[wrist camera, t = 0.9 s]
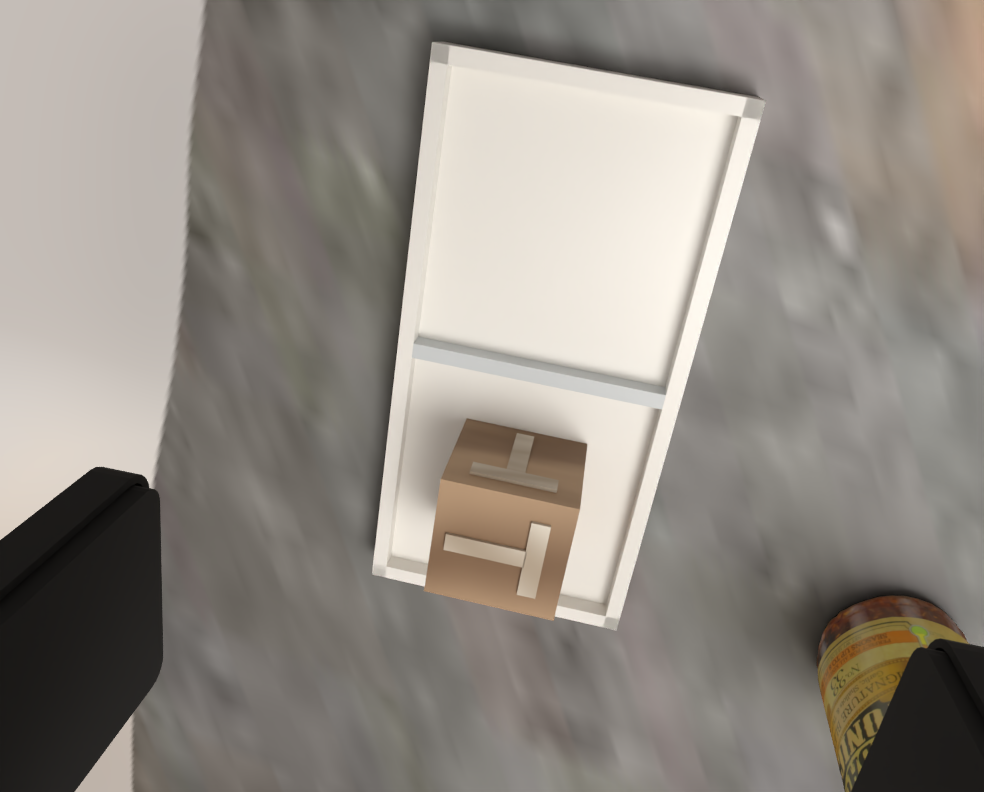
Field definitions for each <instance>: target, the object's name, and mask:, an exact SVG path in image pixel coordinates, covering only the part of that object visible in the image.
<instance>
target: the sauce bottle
mask: <svg viewBox="0 0 984 792" xmlns="http://www.w3.org/2000/svg"><path fill="white" fill-rule="evenodd" d="M940 638H942V639H947V640H952V641H956V642H961V643H966V644H969V643H968V642H967V640H966V638H965V636H964V634H963V632H962V631H961V630H960V629H959V628H958V627H957V625H956V624H955V623H954V622H953V621H952V619H950V618H949V616H948V615H947V614H946V613H945V612H943V611H942V609H940V608H937V607H935V606H934V605H933V604H931V603H928V602H925V601H923V600H920V599H917V598H913V597H909V596H894V595H891V596H883V597H876V598H872V599H869V600H866V601H863V602H859V603H857V604H854V605H852V606H850V607H848V608H847V609H846V610H842V611H840V612H839V614H838V615H837V617H834V618H832V619H831V620H830V621H829V622H828V625H827V627H826V628H825V630H824V632H823V635H822V637H821V641H820V644H819V646H818V656H817V668H818V681H819V687H820V691H821V695H822V699H823V704H824V708H825V712H826V716H827V720H828V724H829V728H830V732H831V736H832V740H833V745H834V748H835V752H836V756H837V761H838V765H839V770H840V773H841V776H842V780H843V785H844V790H845V792H851V790H852V788H853V786H854V783H855V781H856V779H857V777H858V774H859V772H860V770H861V767H862V765H863V763H864V761H865V758H866V756H867V754H868V752H869V749H870V747H871V745H872V742H873V740H874V738H875V736H876V733H877V731H878V729H879V727H880V724H881V722H882V720H883V717H884V715H885V713H886V711H887V708H888V706H889V704H890V702H891V699H892V697H893V695H894V692H895V690H896V688H897V686H898V683H899V681H900V679H901V677H902V674H903V672H904V670H905V667H906V665H907V663H908V661H909V658H910V656H911V655H912V653H913V651H914V650H915V649H917V648H919V647H924V648H928V646H929V644H930V643H931V642H933V641H934V640H935V639H940Z"/></svg>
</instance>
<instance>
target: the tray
mask: <svg viewBox="0 0 984 792" xmlns="http://www.w3.org/2000/svg"><path fill="white" fill-rule="evenodd" d="M765 102H766V101H765V100H763V99H762V98H760V97H756V96H750V95H745V94H739V93H733V92H728V91H722V90H716V89H711V88H705V87H699V86H694V85H688V84H682V83H676V82H671V81H665V80H659V79H654V78H648V77H642V76H637V75H631V74H625V73H620V72H614V71H608V70H602V69H597V68H591V67H585V66H580V65H574V64H568V63H563V62H557V61H551V60H546V59H540V58H534V57H529V56H523V55H517V54H511V53H506V52H500V51H494V50H489V49H483V48H477V47H472V46H466V45H460V44H455V43H449V42H443V41H440V42H432V47H431V56H430V65H429V74H428V83H427V92H426V100H425V109H424V118H423V127H422V136H421V145H420V154H419V162H418V171H417V180H416V189H415V198H414V207H413V216H412V225H411V233H410V242H409V251H408V260H407V269H406V278H405V287H404V295H403V304H402V313H401V322H400V331H399V340H398V349H397V357H396V366H395V375H394V384H393V393H392V402H391V411H390V419H389V428H388V437H387V446H386V455H385V464H384V473H383V482H382V490H381V499H380V508H379V517H378V526H377V535H376V544H375V552H374V561H373V570H372V574H373V575H377V576H382V577H386V578H390V579H395V580H399V581H403V582H408V583H412V584H416V585H421V586H425V581H426V574H427V568H428V561H429V554H430V547H431V541H432V534H433V527H434V521H435V514H436V507H437V500H438V494H439V487H440V480H441V477H442V475H443V472H444V470H445V468H446V465H447V463H448V461H449V458H450V456H451V454H452V451H453V449H454V447H455V444H456V442H457V440H458V437H459V435H460V433H461V430H462V428H463V426H464V423H465V421H466V419H467V418H468V419H473V420H477V421H482V422H487V423H492V424H496V425H501V426H506V427H510V428H515V429H520V430H525V431H529V432H534V433H539V434H543V435H548V436H553V437H558V438H562V439H567V440H572V441H576V442H581V443H586V444H587V453H586V462H585V470H584V479H583V488H582V497H581V506H580V512H579V516H578V520H577V525H576V529H575V533H574V537H573V541H572V545H571V550H570V554H569V558H568V562H567V566H566V571H565V575H564V579H563V583H562V587H561V592H560V596H559V600H558V604H557V608H556V613H555V616H556V617H560V618H565V619H569V620H573V621H578V622H582V623H587V624H591V625H595V626H600V627H604V628H608V629H613V630H617V627H618V623H619V619H620V616H621V612H622V609H623V605H624V602H625V598H626V595H627V591H628V588H629V584H630V580H631V577H632V573H633V570H634V566H635V563H636V559H637V556H638V552H639V549H640V545H641V542H642V538H643V534H644V531H645V527H646V524H647V520H648V517H649V513H650V510H651V506H652V503H653V499H654V495H655V492H656V488H657V485H658V481H659V478H660V474H661V471H662V467H663V464H664V460H665V457H666V453H667V449H668V446H669V442H670V439H671V435H672V432H673V428H674V425H675V421H676V418H677V414H678V410H679V407H680V403H681V400H682V396H683V393H684V389H685V386H686V382H687V379H688V375H689V372H690V368H691V364H692V361H693V357H694V354H695V350H696V347H697V343H698V340H699V336H700V333H701V329H702V325H703V322H704V318H705V315H706V311H707V308H708V304H709V301H710V297H711V294H712V290H713V287H714V283H715V279H716V276H717V272H718V269H719V265H720V262H721V258H722V255H723V251H724V248H725V244H726V240H727V237H728V233H729V230H730V226H731V223H732V219H733V216H734V212H735V209H736V205H737V202H738V198H739V194H740V191H741V187H742V184H743V180H744V177H745V173H746V170H747V166H748V163H749V159H750V155H751V152H752V148H753V145H754V141H755V138H756V134H757V131H758V127H759V124H760V120H761V116H762V113H763V109H764V106H765Z"/></svg>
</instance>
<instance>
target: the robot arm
mask: <svg viewBox="0 0 984 792" xmlns="http://www.w3.org/2000/svg"><path fill="white" fill-rule="evenodd" d="M162 661H163V626H162V577H161V527H160V498H159V494H158V492H157V491H156V490H154V489H150V488H149V484H148V481H147V479H146V478H145V477H144V476H142V475H139V474H134V473H129V472H125V471H120V470H115V469H110V468H105V467H95V468H93V469H92V470H90V471H89V472H87V473H86V474H85V475H83V476H82V477H81V478H80V479H78V480H77V481H76V482H74V483H73V484H72V485H71V486H69V487H68V488H67V489H65V490H64V491H63V492H62V493H60V494H59V495H58V496H56V497H55V498H54V499H53V500H51V501H50V502H49V503H48V504H46V505H45V506H44V507H42V508H41V509H40V510H38V511H37V512H36V513H35V514H33V515H32V516H31V517H29V518H28V519H27V520H26V521H24V522H23V523H22V524H21V525H19V526H18V527H17V528H15V529H14V530H13V531H12V532H10V533H9V534H8V535H6V536H5V537H4V538H3V539H1V540H0V792H74V791H75V790H76V789H77V788H78V786H79V785H80V784H81V782H82V781H83V780H84V778H85V777H86V776H87V774H88V773H89V771H90V770H91V769H92V767H93V766H94V765H95V763H96V762H97V761H98V759H99V758H100V756H101V755H102V754H103V753H104V751H105V750H106V749H107V747H108V746H109V744H110V743H111V742H112V741H113V739H114V738H115V736H116V735H117V734H118V732H119V731H120V730H121V728H122V727H123V726H124V724H125V723H126V722H127V720H128V719H129V718H130V716H131V715H132V714H133V712H134V711H135V710H136V708H137V707H138V706H139V704H140V703H141V701H142V700H143V699H144V697H145V696H146V695H147V693H148V692H149V691H150V689H151V688H152V686H153V685H154V683H155V682H156V679H157V677H158V675H159V672H160V669H161V666H162ZM851 792H984V647H981V646H976V645H971V644H966V643H961V642H956V641H952V640H947V639H942V638H940V639H935V640H934V641H933V642H931V643H930V644H929V646H928V648H924V647H919V648H917V649H915V650H914V651H913V653H912V655H911V656H910V658H909V661H908V663H907V665H906V667H905V670H904V672H903V674H902V677H901V679H900V681H899V683H898V686H897V688H896V690H895V692H894V695H893V697H892V699H891V702H890V704H889V706H888V708H887V711H886V713H885V715H884V717H883V720H882V722H881V724H880V727H879V729H878V731H877V733H876V736H875V738H874V740H873V742H872V745H871V747H870V749H869V752H868V754H867V756H866V758H865V761H864V763H863V765H862V767H861V770H860V772H859V774H858V777H857V779H856V781H855V783H854V786H853V788H852V790H851Z"/></svg>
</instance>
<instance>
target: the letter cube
mask: <svg viewBox="0 0 984 792" xmlns="http://www.w3.org/2000/svg"><path fill="white" fill-rule="evenodd" d="M586 453H587V444H586V443H581V442H576V441H572V440H567V439H562V438H558V437H553V436H548V435H543V434H539V433H534V432H529V431H525V430H520V429H515V428H510V427H506V426H501V425H496V424H492V423H487V422H482V421H477V420H473V419H468V418H467V419H466V421H465V423H464V426H463V428H462V430H461V433H460V435H459V437H458V440H457V442H456V444H455V447H454V449H453V451H452V454H451V456H450V458H449V461H448V463H447V465H446V468H445V470H444V472H443V475H442V477H441V480H440V487H439V494H438V500H437V507H436V514H435V521H434V527H433V534H432V541H431V547H430V554H429V561H428V568H427V574H426V581H425V588H424V591H426V592H431V593H435V594H440V595H444V596H448V597H453V598H457V599H461V600H466V601H470V602H474V603H479V604H483V605H487V606H492V607H496V608H500V609H505V610H509V611H514V612H518V613H522V614H527V615H531V616H535V617H540V618H544V619H548V620H553V621H554V617H555V613H556V608H557V604H558V600H559V596H560V592H561V587H562V583H563V579H564V575H565V571H566V566H567V562H568V558H569V554H570V550H571V545H572V541H573V537H574V533H575V529H576V525H577V520H578V516H579V512H580V506H581V497H582V488H583V479H584V470H585V462H586Z"/></svg>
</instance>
